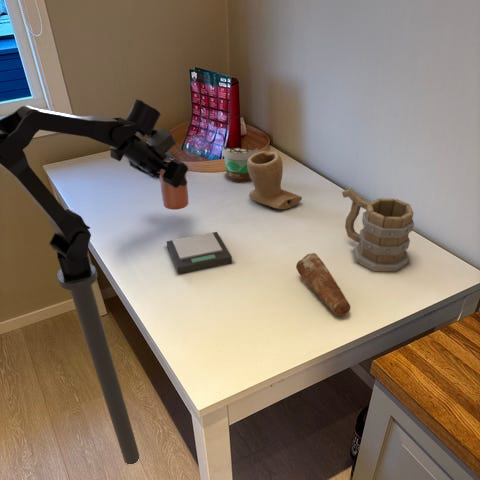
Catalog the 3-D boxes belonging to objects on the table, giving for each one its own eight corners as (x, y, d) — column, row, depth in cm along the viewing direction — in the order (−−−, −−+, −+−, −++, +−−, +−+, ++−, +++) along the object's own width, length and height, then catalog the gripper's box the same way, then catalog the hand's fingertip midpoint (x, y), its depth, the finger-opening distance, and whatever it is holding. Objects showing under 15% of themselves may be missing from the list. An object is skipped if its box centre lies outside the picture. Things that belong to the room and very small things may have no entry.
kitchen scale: (178, 274, 120) (177, 265, 118) (167, 247, 130) (165, 239, 128) (231, 263, 123) (231, 254, 122) (217, 237, 133) (216, 229, 131)
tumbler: (166, 211, 133) (161, 173, 126) (161, 200, 138) (156, 162, 131) (191, 207, 134) (187, 169, 127) (185, 196, 139) (181, 159, 132)
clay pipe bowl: (239, 201, 148) (238, 153, 138) (265, 188, 154) (266, 142, 145) (276, 218, 140) (278, 168, 130) (302, 204, 146) (306, 155, 136)
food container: (217, 181, 159) (216, 151, 153) (223, 173, 164) (222, 144, 157) (254, 185, 156) (253, 155, 150) (259, 177, 161) (259, 147, 154)
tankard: (416, 258, 123) (429, 204, 113) (385, 278, 117) (397, 223, 107) (353, 228, 135) (361, 177, 125) (323, 245, 129) (328, 193, 119)
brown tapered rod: (317, 269, 120) (319, 250, 117) (353, 316, 107) (357, 296, 103) (294, 274, 119) (295, 255, 115) (327, 322, 105) (330, 302, 102)
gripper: (178, 131, 114) (215, 162, 127) (131, 113, 124) (169, 144, 137) (156, 173, 115) (194, 200, 128) (111, 153, 125) (151, 180, 138)
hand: (177, 179), depth 132 cm, fingers closed on tumbler, 7 cm apart
